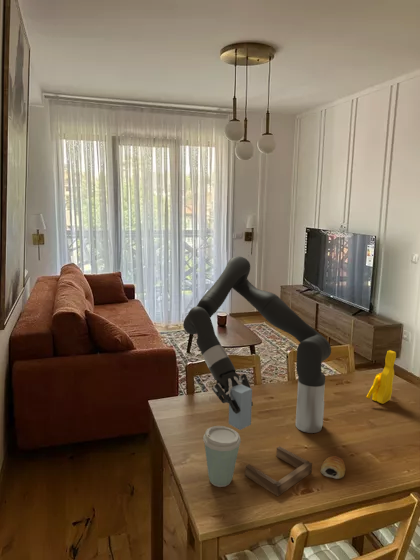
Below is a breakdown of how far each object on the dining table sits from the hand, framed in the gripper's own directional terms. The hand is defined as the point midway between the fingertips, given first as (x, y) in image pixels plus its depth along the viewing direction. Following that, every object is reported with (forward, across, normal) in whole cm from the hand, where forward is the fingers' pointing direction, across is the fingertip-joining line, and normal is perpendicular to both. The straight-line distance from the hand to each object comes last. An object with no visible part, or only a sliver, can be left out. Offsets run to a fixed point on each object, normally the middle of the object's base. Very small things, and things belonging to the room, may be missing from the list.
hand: (244, 409), depth 132 cm
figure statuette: (+19, -71, -4) cm, 74 cm away
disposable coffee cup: (+14, +14, -8) cm, 22 cm away
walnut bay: (+21, -1, -1) cm, 21 cm away
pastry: (+28, -14, +5) cm, 32 cm away
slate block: (+3, 0, -5) cm, 6 cm away
